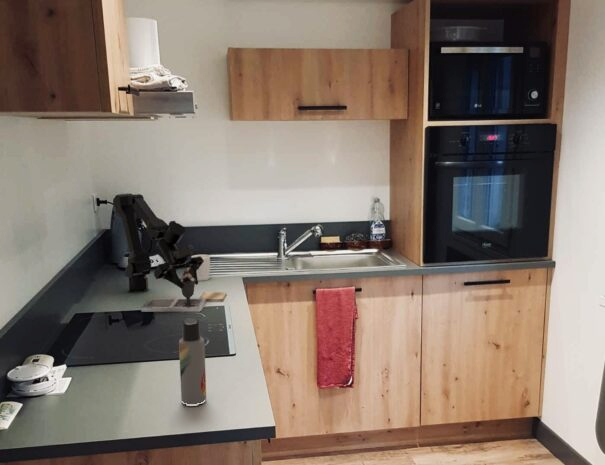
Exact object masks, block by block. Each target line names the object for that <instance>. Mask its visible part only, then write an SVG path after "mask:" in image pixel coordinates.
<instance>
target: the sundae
mask: <svg viewBox="0 0 605 465" xmlns="http://www.w3.org/2000/svg"><path fill="white" fill-rule="evenodd" d="M185 267H186V266H185ZM179 279H180V281H181V282H182V285H183V288H182V289H181V288H180V289H181V294H182V296H183V297H184V298H185V299H187V303H185V304H184V305H182V306H181V307H196V305H195V304H193V303H190V299H191V297H193V295H194V294H195V293H194V292H195V285H196V284H195V282H196V281H197V279H195V278H193V277H192V276H191V274H190V273H189V272H188V270H187V269H186V270H184V271H183V274H181V277H179Z"/></svg>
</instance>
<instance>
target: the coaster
mask: <svg viewBox="0 0 605 465" xmlns="http://www.w3.org/2000/svg"><path fill="white" fill-rule="evenodd" d="M226 297H227V292H226V291H223V292H222V291H221V292H218V291H217V292H216V291H215V292H214V291H213V292H210V291H209V292H207V291H206V292H202V293H201V295H200V297H199V298H198V299H206V303H207V302H208V303H209V302H212V303H213V302H214V303H215V302H216V303H217V302H220V303H221V302H224V300H225V298H226Z"/></svg>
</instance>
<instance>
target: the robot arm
mask: <svg viewBox="0 0 605 465" xmlns="http://www.w3.org/2000/svg"><path fill="white" fill-rule="evenodd" d="M112 204H113V206H114V208H115V212H116V213H117V214H118V215H119V216H120V217H121V218H122V223H123V227H124V233H125V237H126V241H127V245H128V250H129V255H128V257H127V266H126V268H125V269H124V271H123V272H124V276H125V277H126V278H128V282H129V283H128V288H129V289H128V291H127V292H128V293H145V292H146V291H147V290H148V289H149V278H148V277H147V276H148V275H150V274H151V268H152V260H151V258H150V257H151V256H150V254H149V252H146V251H145V250H144V249H143V246H142V242H141V237H140V233H139V228H138V224H137V220H136V216H135V214H136V213H137V214H138V216H139V217H140V219H141V220H142V222H143V223H144V225H145V231H146V233H147V235H148V237H149V239H151V241H156V240H158V241H157V242H156V246H155V250H159V251H160V252H161V253H162V256H163V257H164V258H163V261H164V262H163V263H160V264H159V263H158V265H157V266H156V268H155V270H154V272H153V276H154V278H155V279H156V280H158V279H163V280H166V281H168V282H170V283H172V284H174V286H177V287H178V288H180V289H182V288H183V285H182V282H181V281H180V277H179V275H178V274H177V271H178V270H183V269H185V270H186V271H187V270H188V272H189V273H190V274H191V276H192V277H193V278H195V279H197V270H198V269H199V268H200V266H201V265H202V263H203V262H204V260H203V259H202V257H200V256H198V257H193V258H190V260H188V257H192V256H193V254H194V253H195V247H194V246H193V245H192V244H188V245H185V246H184V247H180V248H178V247H177V245H176V244H179V243H180V241H181V239H182V237H183V235H184V234H185V233H186V228H185V227H184V226H183V225H182V224H181V223H178V222H176V220H171V221H169V223H166V221H165V220H163V219H162V218H159V217H158V216H157V215H156V214H155V212H154V211H153V210H152V208H151V207H150V205H149V204H148V203H147V202H146V200H145V199H144V196H143V195H142V194H141V193H137V194H136V193H135V194H133V193H124V194H116V195H115V196H114V198H113V200H112ZM186 261H187V262H186ZM185 266H186V267H185ZM198 284H199V281H198V279H197V281H196V282H195V285H198Z"/></svg>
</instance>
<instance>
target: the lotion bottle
mask: <svg viewBox="0 0 605 465" xmlns="http://www.w3.org/2000/svg"><path fill="white" fill-rule="evenodd" d="M181 327H182V328H181V329H182V338H180V339H179V341H178V351H179V354H178V355H179V373H180V374H179V376H180V394H181V395H180V398H181V402H182V401H183V402H184V403H187V404H197V403H201V402H203V401H204V400H205V399H206V400H207V380H206V379H207V378H206V348H205V338H203V337H202V336H201V328H200V319H198V318H197V317H193V316H190V317H187V318H184V319H183V320H182V326H181Z"/></svg>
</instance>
